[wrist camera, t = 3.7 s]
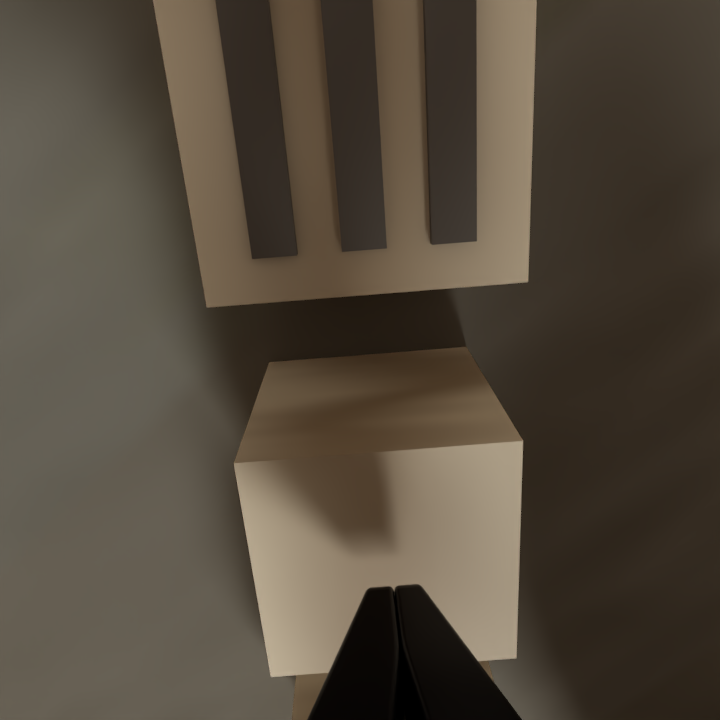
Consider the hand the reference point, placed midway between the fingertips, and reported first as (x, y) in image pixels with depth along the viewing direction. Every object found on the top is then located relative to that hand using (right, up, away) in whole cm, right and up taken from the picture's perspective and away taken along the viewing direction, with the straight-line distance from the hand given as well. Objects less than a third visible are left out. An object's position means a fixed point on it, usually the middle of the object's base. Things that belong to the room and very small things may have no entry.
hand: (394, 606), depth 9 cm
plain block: (0, +2, +5) cm, 5 cm away
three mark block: (-1, +8, +2) cm, 9 cm away
